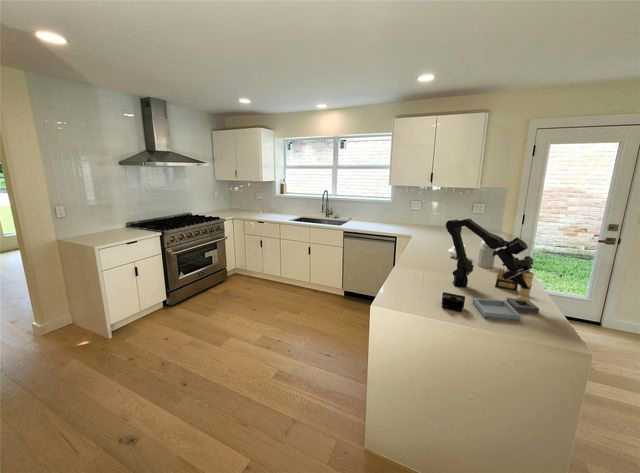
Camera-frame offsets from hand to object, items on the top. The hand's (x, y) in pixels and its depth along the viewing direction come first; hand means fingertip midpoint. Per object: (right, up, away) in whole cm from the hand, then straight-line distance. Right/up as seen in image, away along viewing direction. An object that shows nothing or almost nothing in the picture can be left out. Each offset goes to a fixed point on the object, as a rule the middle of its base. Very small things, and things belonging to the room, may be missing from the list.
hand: (529, 287), depth 137 cm
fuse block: (-1, -11, +4) cm, 12 cm away
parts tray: (-17, -12, 0) cm, 21 cm away
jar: (+15, +3, +63) cm, 65 cm away
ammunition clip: (+6, -6, +27) cm, 28 cm away
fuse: (-1, -7, +3) cm, 7 cm away
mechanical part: (+5, +8, +84) cm, 84 cm away
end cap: (-35, -11, +4) cm, 37 cm away
